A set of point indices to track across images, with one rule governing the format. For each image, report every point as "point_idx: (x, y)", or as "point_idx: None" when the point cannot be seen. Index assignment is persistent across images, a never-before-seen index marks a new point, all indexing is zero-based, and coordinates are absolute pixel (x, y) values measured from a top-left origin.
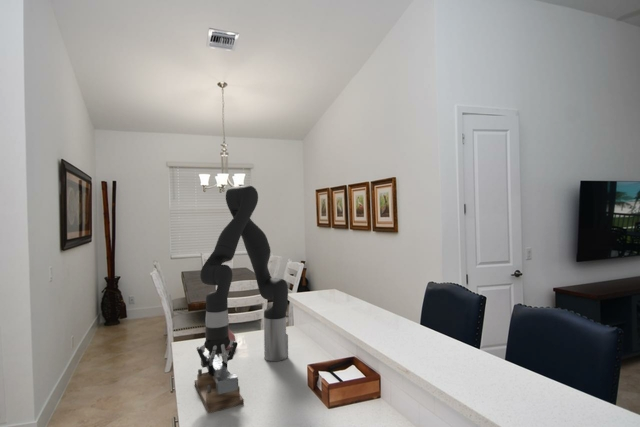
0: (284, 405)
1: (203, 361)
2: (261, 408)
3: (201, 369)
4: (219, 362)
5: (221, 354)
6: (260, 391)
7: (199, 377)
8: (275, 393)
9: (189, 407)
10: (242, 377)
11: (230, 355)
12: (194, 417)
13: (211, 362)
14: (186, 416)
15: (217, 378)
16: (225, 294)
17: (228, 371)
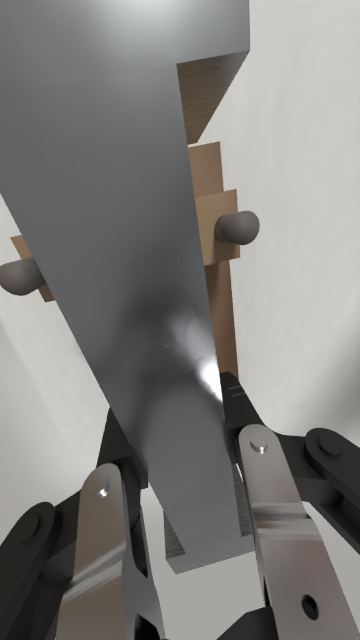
0: (320, 421)
1: (40, 604)
2: (269, 426)
3: (30, 278)
4: (202, 421)
5: (257, 545)
6: (305, 347)
7: (47, 300)
8: (335, 367)
9: (68, 398)
10: (296, 187)
11: (337, 526)
12: (99, 442)
13: (130, 535)
14: (73, 437)
15: (173, 563)
16: None
17: (236, 520)
